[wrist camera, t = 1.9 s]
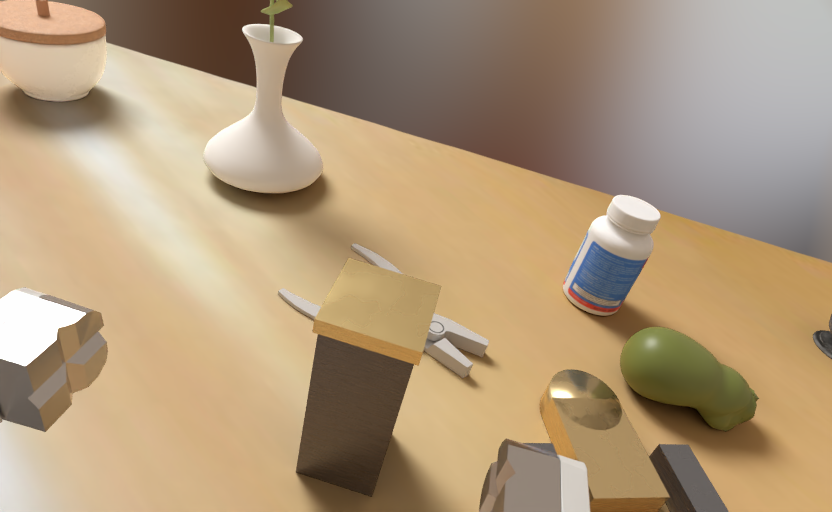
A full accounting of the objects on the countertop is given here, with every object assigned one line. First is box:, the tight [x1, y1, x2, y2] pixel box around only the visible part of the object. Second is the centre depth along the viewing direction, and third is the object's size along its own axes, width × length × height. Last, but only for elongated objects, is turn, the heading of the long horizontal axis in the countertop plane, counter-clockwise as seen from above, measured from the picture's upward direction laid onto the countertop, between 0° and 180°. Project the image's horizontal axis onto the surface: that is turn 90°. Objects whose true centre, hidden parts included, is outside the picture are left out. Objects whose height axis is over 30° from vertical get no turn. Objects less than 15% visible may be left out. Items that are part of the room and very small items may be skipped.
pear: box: [620, 327, 759, 432], centre depth 40 cm, size 6×5×10 cm
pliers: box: [278, 243, 489, 378], centre depth 42 cm, size 10×2×15 cm
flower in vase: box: [203, 0, 323, 193], centre depth 48 cm, size 13×11×25 cm
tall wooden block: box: [296, 258, 441, 497], centre depth 28 cm, size 5×5×12 cm
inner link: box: [540, 370, 670, 512], centre depth 35 cm, size 10×5×2 cm, turn 8°
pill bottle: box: [563, 195, 661, 316], centre depth 47 cm, size 6×5×10 cm
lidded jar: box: [0, 0, 107, 102], centre depth 56 cm, size 11×11×9 cm
